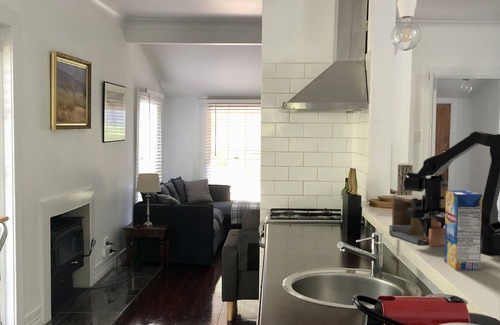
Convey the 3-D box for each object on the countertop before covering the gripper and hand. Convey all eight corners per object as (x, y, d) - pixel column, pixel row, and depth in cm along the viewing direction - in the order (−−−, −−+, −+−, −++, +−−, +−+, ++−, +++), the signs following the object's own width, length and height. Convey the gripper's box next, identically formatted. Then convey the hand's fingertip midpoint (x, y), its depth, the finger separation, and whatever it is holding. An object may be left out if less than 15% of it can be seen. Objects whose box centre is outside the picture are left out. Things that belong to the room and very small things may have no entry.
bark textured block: (393, 215, 259) (394, 163, 258) (404, 214, 262) (405, 163, 261) (403, 217, 253) (404, 164, 252) (414, 216, 256) (415, 164, 255)
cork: (425, 234, 210) (426, 206, 210) (409, 234, 212) (410, 206, 211) (424, 231, 216) (424, 204, 216) (408, 231, 218) (408, 204, 217)
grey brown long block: (446, 245, 190) (447, 222, 190) (423, 246, 188) (424, 223, 187) (410, 233, 213) (410, 212, 212) (389, 234, 210) (389, 213, 209)
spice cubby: (437, 234, 211) (437, 198, 210) (410, 235, 208) (411, 199, 207) (417, 228, 224) (417, 194, 223) (392, 229, 221) (392, 195, 220)
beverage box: (455, 270, 156) (457, 194, 155) (444, 261, 167) (445, 190, 166) (480, 270, 155) (482, 194, 154) (466, 261, 166) (468, 190, 165)
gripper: (441, 190, 203) (440, 231, 204) (397, 191, 198) (397, 233, 198) (461, 193, 192) (460, 236, 193) (415, 194, 187) (414, 239, 188)
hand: (432, 236), depth 193 cm, fingers closed on grey brown long block, 4 cm apart
